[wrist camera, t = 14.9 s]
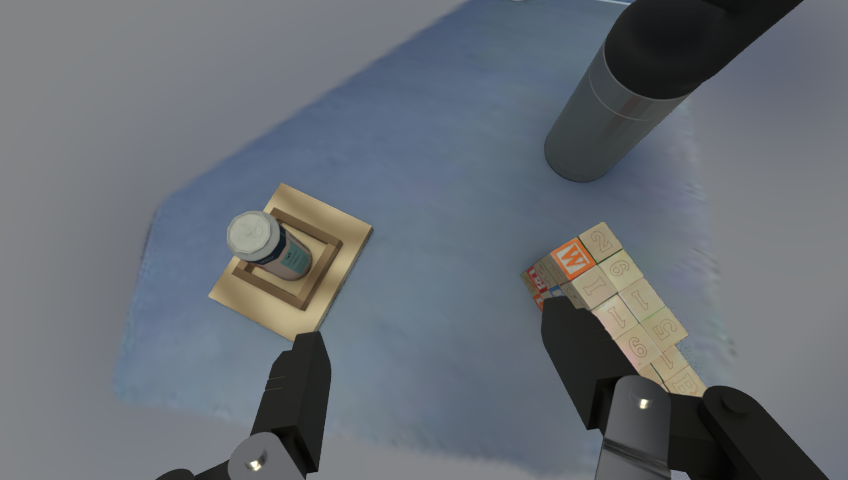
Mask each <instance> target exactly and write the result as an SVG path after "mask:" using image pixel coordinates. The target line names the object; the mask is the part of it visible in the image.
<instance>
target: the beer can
mask: <svg viewBox="0 0 848 480" xmlns="http://www.w3.org/2000/svg"><path fill="white" fill-rule="evenodd" d="M227 243H228V247H229V249H230V251H231V252H232V253H233V254H234V255H235V256H236V257H238V258H239V259H241V260H243V261H245V262H247V263H250V264H252V265H254V266H256V267H258V268H260V269H262V270H264V271H266V272H268V273H270V274H272V275H274V276H276V277H279V278H281V279H283V280H288V281H292V280H297V279H299V278H301V277H303V276H304V275H305V274H306V273H307V272H308V270H309V269H310V267H311V264H312V255H311V251H310V250H309V248H308V247H307V246H306V245H305V244H303V243H302V242H301V241H300V240H298V239H297V238H296V237H295V236H294V235H293V234H291V233H290V232H289V231H288V230H287V229H286V228H285V227H283V226H282V225H281V224H280V223H279V222H278V221H276V219H275V218H274V217H273V216H271V215H270V214H268V213H266V212H263V211H250V212H246V213H243V214H241V215H239V216H237V217H235V218H234V220H233V221H232V223H231V224H230V225H229V227H228V228H227Z"/></svg>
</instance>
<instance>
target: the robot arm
mask: <svg viewBox="0 0 848 480" xmlns="http://www.w3.org/2000/svg"><path fill="white" fill-rule="evenodd" d="M802 1H803V0H636V1H635V2H633V3H632V4H630V5H629V6H628V7H627V8H626V9H625V10H624V11H623V12H622V13H621V15H620V16H619V17H618V19H617V20H616V22H615V24H614V25H613V27H612V29H611V30H610V32H609V34H608V36H607V38H606V39H605V41H604V42H603V44H602V46H601V47H600V49H599V51H598V52H597V54H596V56H595V57H594V59H593V61H592V63H591V64H590V66H589V68H588V69H587V71H586V73H585V74H584V76H583V78H582V79H581V81H580V83H579V84H578V86H577V88H576V89H575V91H574V93H573V94H572V96H571V98H570V99H569V101H568V102H567V104H566V106H565V107H564V109H563V111H562V112H561V114H560V116H559V117H558V119H557V120H556V122H555V124H554V125H553V127H552V129H551V130H550V132H549V134H548V136H547V138H546V141H545V154H546V158H547V160H548V162H549V164H550V165H551V167H552V168H553V169H554V170H555V171H556V172H557V173H558V174H560V175H561V176H563V177H565V178H567V179H570V180H573V181H578V182H588V181H592V180H596V179H598V178H600V177H602V176H603V175H604V174H605V173H606V172H607V171H608V170H609V169H611V168H612V167H613V166H614V165H615V164H616V163H617V162H618V161H619V160H620V159H621V158H623V157H624V156H625V155H626V154H627V153H628V152H629V151H630V150H631V149H632V148H633V147H634V146H635V145H637V144H638V143H639V142H640V141H641V140H642V139H643V138H644V137H645V136H646V135H647V134H648V133H649V132H650V131H652V130H653V129H654V128H655V127H656V126H657V125H658V124H659V123H660V122H661V121H662V120H663V119H664V118H665V117H667V116H668V115H669V114H670V113H671V112H672V111H673V110H674V109H675V108H676V107H677V106H678V105H679V104H680V103H681V102H682V101H683V100H685V99H686V98H687V97H688V96H689V95H690V94H691V93H692V92H693V91H694V90H695V89H696V88H697V87H698V86H700V85H701V84H702V83H703V82H704V81H706V80H708V79H710V78H711V77H712V76H714V75H715V74H717V73H718V72H719V71H720V70H721V69H722V68H724V67H725V66H726V65H727V64H728V63H729V62H730V61H731V60H733V59H734V58H735V57H736V56H737V55H738V54H739V53H741V52H742V51H743V50H744V49H745V48H747V47H748V46H749V45H750V44H751V43H752V42H754V41H755V40H756V39H757V38H758V37H759V36H761V35H762V34H763V33H765V32H766V31H767V30H768V29H769V28H771V27H772V26H773V25H774V24H776V22H778V21H779V20H780V19H781V18H783V17H784V16H785V15H786V14H787V13H789V12H790V11H791V10H793V9H794V8H795V7H796V6H797V5H798V4H800V3H801V2H802ZM541 334H542V340H543V343H544V346H545V348H546V350H547V352H548V354H549V356H550V358H551V360H552V362H553V364H554V366H555V368H556V370H557V372H558V374H559V376H560V378H561V380H562V382H563V384H564V386H565V388H566V390H567V392H568V394H569V395H570V397H571V399H572V401H573V403H574V405H575V407H576V409H577V411H578V413H579V415H580V417H581V419H582V421H583V423H584V425H585V427H586V429H587V430H591V429H597V428H599V429H600V431H601V433H602V435H603V437H604V438H603V442H602V447H601V451H600V456H599V461H598V465H597V470H596V475H595V479H594V480H671V470H676V471H682V472H686V473H687V475H688V476H689V478H690V479H691V480H829V479H828V478H827V477H826V476H825V475H824V473H823V472H822V471H821V470H820V469H819V468H818V467H817V466H816V465H815V464H814V463H813V461H812V460H811V459H810V458H809V457H808V456H807V455H806V454H805V453H804V452H803V451H802V449H801V448H800V447H799V446H798V445H797V444H796V443H795V442H794V441H793V440H792V439H791V438H790V436H789V435H788V434H787V433H786V432H785V431H784V430H783V429H782V428H781V427H780V426H779V424H778V423H777V422H776V421H775V420H774V419H773V418H772V417H771V416H770V415H769V414H768V413H767V412H766V410H765V409H764V408H763V407H762V406H761V405H760V404H759V403H758V402H757V401H756V400H755V399H753V398H752V397H751V396H749V395H747V394H746V393H744V392H742V391H740V390H737V389H735V388H731V387H727V386H712V387H709V388H708V389H706V390H705V392H704V393H703V396H702V397H698V396H690V395H682V394H675V393H670V392H666V391H665V390H664V389H663V388H662V387H661V386H660V385H659V384H658V383H656V382H654V381H653V380H651V379H648V378H646V377H642V376H641V375H640V374H639V373H638V372H637V370H636V369H635V368H634V366H633V365H632V363H631V362H630V361H629V359H628V358H627V357H626V355H625V354H624V353H623V351H622V350H621V349H620V347H619V346H618V344H617V343H616V342H615V340H613V339H612V336H611V335H610V334H609V332H608V331H607V330H606V329H605V327H604V326H603V324H602V323H601V321H600V320H599V319H598V317H597V316H595V315H594V314H592V313H591V312H590V311H588V310H587V309H585V308H578V309H576V308H575V306H574V305H573V303H572V302H571V300H570V299H569V298H568V297H567V296H558V297H551V298H545V299H544V301H543V312H542V325H541ZM330 383H331V364H330V360H329V357H328V354H327V351H326V348H325V345H324V342H323V339H322V336H321V333H320V332H319V331H314V332H308V333H301V334H297V335H296V337H295V340H294V344H293V348H292V350H289V351H283V352H282V353H281V354H280V356H279V357H278V358H277V359H276V361H275V362H274V363H273V365H272V368H271V371H270V375H269V380H268V381H267V384H266V387H265V392H264V394H263V397H262V400H261V403H260V406H259V409H258V412H257V416H256V419H255V422H254V425H253V428H252V431H251V434H250V437H249V438H247V439H245V440H244V441H243V442H242V443H241V444H240V445H239V446H238V447H237V448H236V449H235V450H234V452H233V453H232V455H231V457H230V459H229V460H227V461H225V462H224V463H222V464H220V465H218V466H216V467H213V468H211V469H209V470H207V471H204V472H202V473H200V474H198V475H196V476H194V475H193V474H192V473H191V471H189V470H187V469H176V470H172V471H169V472H167V473H165V474H163V475H162V476H160V477H159V478H157V479H156V480H306V475H307V473H313V472H318V468H319V461H320V454H321V447H322V440H323V433H324V426H325V419H326V412H327V404H328V397H329V390H330ZM670 469H671V470H670Z"/></svg>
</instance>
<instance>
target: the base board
mask: <svg viewBox="0 0 848 480" xmlns="http://www.w3.org/2000/svg"><path fill="white" fill-rule="evenodd" d="M263 212H266V213H268V214H270V215H271V216H273V217H274V218H275V219H276V221H278V222H279V223H280V224H281V225H282V226H283V227H285V228H286V229H287V230H288V231H289V232H290V233H291V234H293V235H294V236H295V237H296V238H297V239H298V240H300V241H301V242H302V243H303V244H305V245H306V246H307V247H308V248H309V250H310V251H311V255H312V264H311V267H310V269H309V270H308V272H307V273H306V274H305V275H304V276H303V277H301V278H299V279H297V280H292V281H288V280H283V279H281V278H279V277H276V276H274V275H272V274H270V273H268V272H266V271H264V270H262V269H260V268H258V267H256V266H254V265H252V264H250V263H247V262H245V261H243V260H241V259H239V258H238V257H236V256H235V255H234V257H233V258H232V260H231V262H230V263H229V265H228V266H227V268H226V269H225V271H224V272H223V274H222V276H221V277H220V279H219V280H218V282H217V283H216V285H215V286H214V288H213V289H212V291H211V293H210V294H209V297H211V298H212V299H214V300H216V301H218V302H220V303H222V304H224V305H226V306H227V307H229V308H231V309H233V310H235V311H237V312H239V313H241V314H242V315H244V316H246V317H248V318H250V319H252V320H254V321H255V322H257V323H259V324H261V325H263V326H265V327H267V328H269V329H270V330H272V331H274V332H276V333H278V334H280V335H282V336H284V337H285V338H287V339H289V340H291V341H293V342H294V340H295V337H296V335H297V334H301V333H308V332H314V331H317V330H318V329H319V327H320V325H321V323H322V321H323V320H324V318H325V316H326V314H327V312H328V310H329V309H330V307H331V305H332V303H333V301H334V300H335V298H336V296H337V294H338V292H339V291H340V289H341V287H342V285H343V283H344V282H345V280H346V278H347V276H348V274H349V273H350V271H351V269H352V267H353V265H354V264H355V262H356V260H357V258H358V256H359V255H360V253H361V251H362V249H363V247H364V246H365V244H366V242H367V240H368V238H369V237H370V235H371V233H372V231H373V228H372V226H371V225H369V224H367V223H364V222H362V221H360V220H358V219H356V218H354V217H352V216H350V215H348V214H346V213H344V212H342V211H339V210H337V209H335V208H333V207H331V206H329V205H327V204H325V203H323V202H321V201H319V200H317V199H315V198H312V197H310V196H308V195H306V194H304V193H302V192H300V191H298V190H296V189H294V188H292V187H290V186H287V185H285V184H283V183H281V184H280V186H279V187H278V189H277V190H276V192H275V193H274V195H273V197H272V198H271V200H270V201H269V203H268V204H267V206H266V207H265V209H264V210H263Z"/></svg>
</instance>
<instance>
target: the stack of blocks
mask: <svg viewBox="0 0 848 480" xmlns="http://www.w3.org/2000/svg"><path fill="white" fill-rule="evenodd" d="M520 277H521V279H522V280H523V282H524V283H525V285H526V287H527V288H528V290H529V291H530V293H531V294H532V296H533V299H534V300H535V302H536V303H537V305H538V306H539V308H540V309H541V311H542V312H543V301H544V299H545V298H551V297H558V296H567V297H568V298H569V299H570V300H571V302H572V303H573V305H574V306H575V308H576V309H578V308H585V309H587V310H588V311H590V312H591V313H592V314H594V315H595V316H597V317H598V319H599V320H600V321H601V323H602V324H603V326H604V327H605V329H606V330H607V331H608V332H609V334H610V335H611V336H612V339H613V340H615V342H616V343H617V344H618V346H619V347H620V349H621V350H622V351H623V353H624V354H625V355H626V357H627V358H628V359H629V361H630V362H631V363H632V365H633V366H634V368H635V369H636V370H637V372H638V373H639V374H640V375H641V376H642V377H646V378H648V379H651V380H653V381H654V382H656V383H658V384H659V385H660V386H661V387H662V388H663V389H664V390H665V391H666V392H670V393H675V394H682V395H690V396H698V397H702V396H703V393H704V392H705V390H706V389H707V388H706V387H705V385H704V384H703V383H702V381H701V380H700V379H699V377H698V376H697V375H696V373H695V372H694V371H693V369H692V368H691V367H690V366H689V364H688V362H687V361H686V359H685V358H684V357H683V355H682V354H681V353H680V351H679V350H678V349H677V348H676V346H675V344H676V343H677V342H679V341H681V340H682V339H684V338H685V337H687V336H688V333H687V332H686V330H685V329H684V328H683V326H682V325H681V324H680V323H679V321H678V320H677V319H676V317H675V316H674V315H673V313H672V312H671V311H670V310H669V308H668V307H667V306H665V304H664V303H663V301H662V300H661V299H660V297H659V296H658V295H657V293H656V292H655V291H654V290H653V288H652V287H651V286H650V284H649V283H648V282H647V280H646V279H645V278H644V277H643V274H642V273H641V271H640V270H639V269H638V267H637V266H636V265H635V263H634V262H633V261H632V259H631V258H630V257H629V255H628V254H627V253H626V251H625V250H624V249H622V245H621V244H620V242H619V241H618V240H617V238H616V237H615V236H614V234H613V233H612V232H611V230H610V229H609V228H608V226H607V225H606V223H604V222H601V223H599V224H598V225H596V226H594V227H592V228H591V229H589V230H587V231H586V232H584V233H582V234H580V235H579V236H577V237H576V238H574V239H572V240H570V241H569V242H567V243H565V244H564V245H562V246H560V247H559V248H557V249H555V250H554V251H552V252H551V253H549V254H548V255H547V256H545V257H543V258H542V259H540V260H539V261H537V262H536V263H535V264H534V265H533V266H531V267H530V268H529V269H528V270H527V271H525V272H524V273H522V274H521V275H520Z"/></svg>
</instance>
